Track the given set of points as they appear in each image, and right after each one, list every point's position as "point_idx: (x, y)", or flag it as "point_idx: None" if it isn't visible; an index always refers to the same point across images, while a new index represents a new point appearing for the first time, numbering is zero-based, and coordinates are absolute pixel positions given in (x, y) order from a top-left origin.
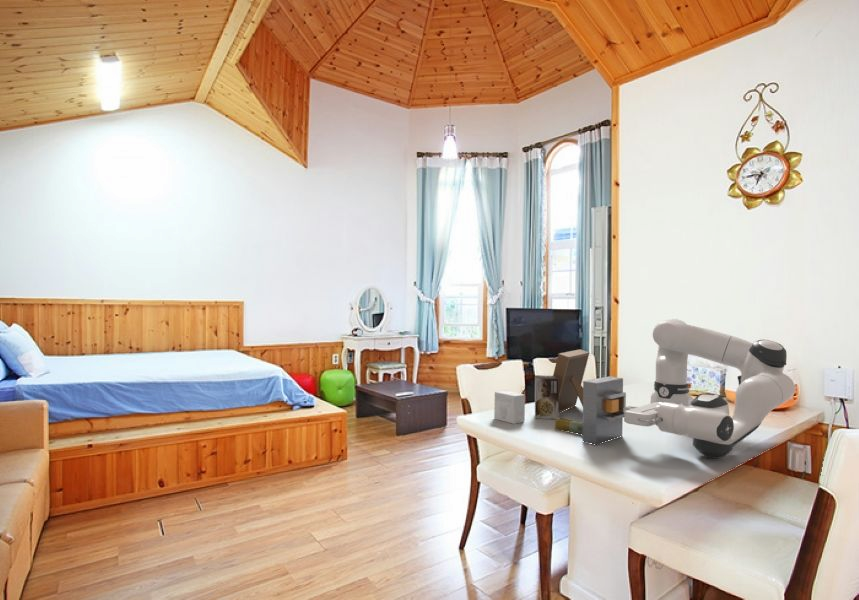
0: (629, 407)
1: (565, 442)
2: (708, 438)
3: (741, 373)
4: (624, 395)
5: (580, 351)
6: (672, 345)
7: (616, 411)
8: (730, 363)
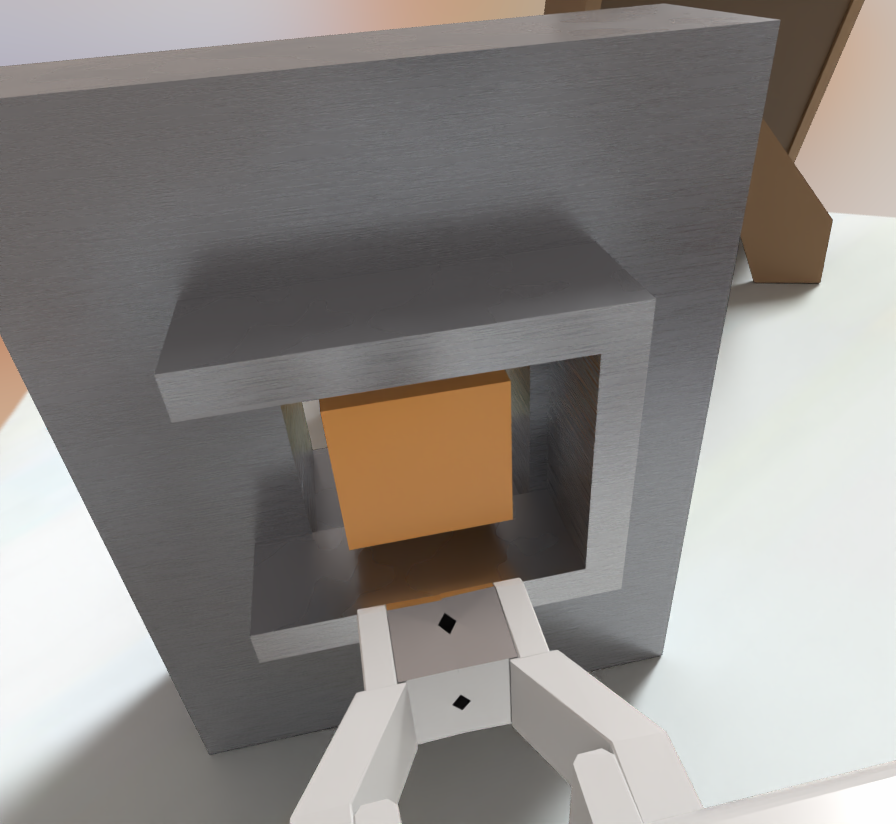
0: (421, 665)
1: (106, 596)
2: None
3: None
4: (607, 345)
5: None
6: None
7: (458, 528)
8: None
